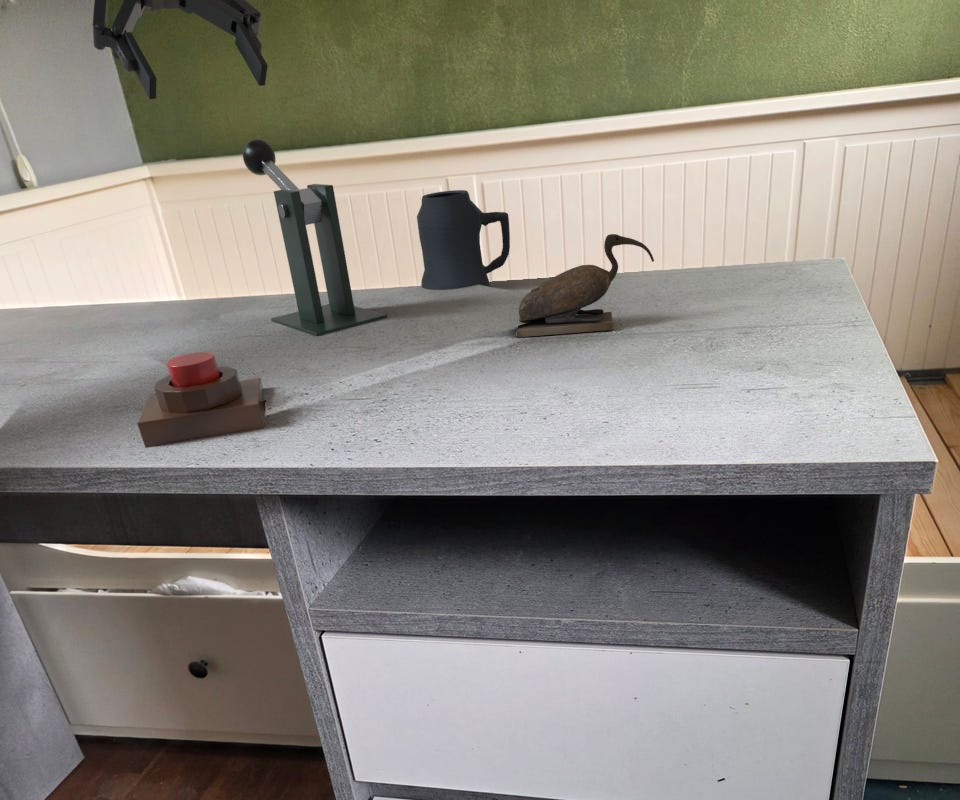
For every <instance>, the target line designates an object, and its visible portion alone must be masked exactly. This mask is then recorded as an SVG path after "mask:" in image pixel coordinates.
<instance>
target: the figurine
mask: <svg viewBox="0 0 960 800" xmlns="http://www.w3.org/2000/svg"><path fill="white" fill-rule="evenodd" d="M621 245H622V246H623V245H624V246H625V245H628V246H629V245H630V246H636V247H639V248H642V249H643V250H644V251H645V252H647V255H648V256H649V258H650V261H651V262H655V258H654V256H653V254H652V252H651V251H650V249H649V248H648V247H647V246H646V245H645V244H644V243H643V242H641V241H638V240H636V239H634V238H631V237H627V236H622V235H619V234H617V233H611V234H607V236H606V237H605V239H604V245H603V247H604V248H603V249H604V253H605V256H606V257H607V259H608V261H609V262H610V265H611V269H610V270H609V271H608V270H607V269H604V268H602V267H600V266H597V265H594V264H582V265H581V264H580V265H577V266H574V267H572V268H570V269H567V270H565V271H563V272H561V273H559V274H556V275H555V276H553V277H551V278H549V279H547V280H545V281H544V282H542V283H540V284H539V285H538V286H536V287H534V288H533V289H531V290H530V291H529V292H527V294H525V295H524V296H523V297H522V299H521V301H520V303H519V305H518V316H519V322H526V321H529V322H526V323H522V324H519V325H517V327H516V330H515V332H516V337H517V338H525V337H526V338H527V337H538V336H539V337H540V336H551V335H562V334H563V335H565V334H575V333H577V334H578V333H590V332H604V331H613V329H614V324H613V323H614V322H613V314H612V311H605V312H604V309H602V308H595V309H582V308H585V307H587V306H590V305H592V304H595V303H597V302H599V300H601V298H603V297H604V296H605V295H606V294H607V292H608V290H609V288H610V286H611V284H612V282H613V281H614V279H615V278H616V276H617V274H618V271H619V264H618V261H617V259H616V257H615V255H614V253H613V248H614V247H615V246H616V247H617V246H621Z"/></svg>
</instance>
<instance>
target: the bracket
mask: <svg viewBox="0 0 960 800" xmlns="http://www.w3.org/2000/svg"><path fill="white" fill-rule="evenodd" d="M306 188H310V189H311V190H312V191H313V192H314V193H315V194H316V195H317V196H318V197H319V198H320V199H321V200H322V222H318V223H313V225H314V230H315V231H314V232H315V236H316V240H317V241H316V242H317V245H318V252H319V258H320V262H321V267H322V273H323V277H324V283H325V289H326V294H327V299H328V303H326V304H323V305H322V302H321V301H322V300H321V296H320V290H319V286H318V281H317V275H316V271H315V270H316V269H315V266H314V260H313V255H312V251H311V244H310V239H309V235H308V230H307V225H306V224H305V219H304V213H303V208H302V203H301V198H300V193H299V191H290V190H281V189H278V190H274V191H273V196H274V200H275V206H276V210H277V214H278V219H279V224H280V229H281V233H282V239H283V243H284V244H283V245H284V249H285V253H286V258H287V263H288V268H289V272H290V273H289V274H290V277H291V282H292V287H293V292H294V296H295V301H296V307H297V310H298V311H295V312H291V313H287V314H283V315H279V316H275V317H271V318H270V320H271V322H272V323H276V324H279V325H281V326H284V327H288V328H291V329H293V330H296V331H299V332H302V333H305V334H308V335H311V336H314V337H320V336H325V335H327V334H332V333H335V332H339V331H342V330H347V329H351V328H355V327H358V326H362V325H365V324H368V323H372V322H376V321H380V320H384V319H387V318H388V315H387V314H386V313H382V312H379V311H374V310H370V309H366V308H363V307H359V306H357V305H356V306H355V304H354V298H353V292H352V288H351V287H352V286H351V281H350V276H349V270H348V265H347V258H346V252H345V247H344V241H343V236H342V230H341V224H340V218H339V212H338V208H337V207H338V206H337V201H336V195H335V190H334V185H333V184H321V183H312V184H307V185H306Z"/></svg>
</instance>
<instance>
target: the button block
mask: <svg viewBox="0 0 960 800" xmlns="http://www.w3.org/2000/svg"><path fill="white" fill-rule="evenodd" d="M217 367H218V371H219V374H220V378H219V379H217V380H215V381H213V382H209V383H206V384H203V385H197V386H191V387H173V384H172V380H171V377H170V374H168V375H167V376H166V377H163V378H162V379H160V380H158V381H156V383H155V385H154V386H153V390H154V393H152V394H149V396H148V398H147V400H146V403H145V404H144V407H143V409H142V411H141V414H140V416H139V417H138V420H137V427H138V430H139V433H140V436H141V439H142V442H143V446H144V448H152V447H158V446H163V445H171V444H176V443H182V442H187V441H194V440H201V439H205V438H213V437H219V436H224V435H226V436H227V435H231V434H237V433H243V432H250V431H257V430H262V429H265V422H266V421H265V420H266V405H267V403H266V402H267V399H264V400H263V394H264V386H263V382H262V378H261V377H255V378H248V379H243V380H240V376H239V372H238V370H237V369H236V368H233V367H230V366H227V365H220V366H219V365H217Z"/></svg>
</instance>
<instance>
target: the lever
mask: <svg viewBox="0 0 960 800" xmlns="http://www.w3.org/2000/svg"><path fill="white" fill-rule="evenodd" d="M276 159H277V157H276V153H275V150H274V148H273V147H272V145H270V143H268V142H267V141H266V140H263V139H260V138H255V139H251V140H250V141H248V142H247V143H246V144H245V146H244V147H243V150H242V160H243V163H244V165H245V167H246V168H247V170H248V171H249V172H251V173H252V174H253V175H256V176H267V177H268V178H269V179H270V180H271V181H272V182H273V183H274V184H275V185H276V186H277V187H278V188H279V190H290V191H299V193H300V198H301V203H302V208H303V213H304V219H305V224H306V226H309V225H314V223H318V222H322V200H321V199H320V198H319V197H318V196H317V195H316V194H315V193H314V192H313V191H312V190H311V189H310V188H307V187H305V188H299V187H298V186H297V185H296V184H295V183H294V182H293V181H292V180H291V179H290V178H289V177H288V176H287V175H286V174H285V173H284V172H283V171H282V170H281V169H280V168H279V167H278V166H277V165H276Z"/></svg>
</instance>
